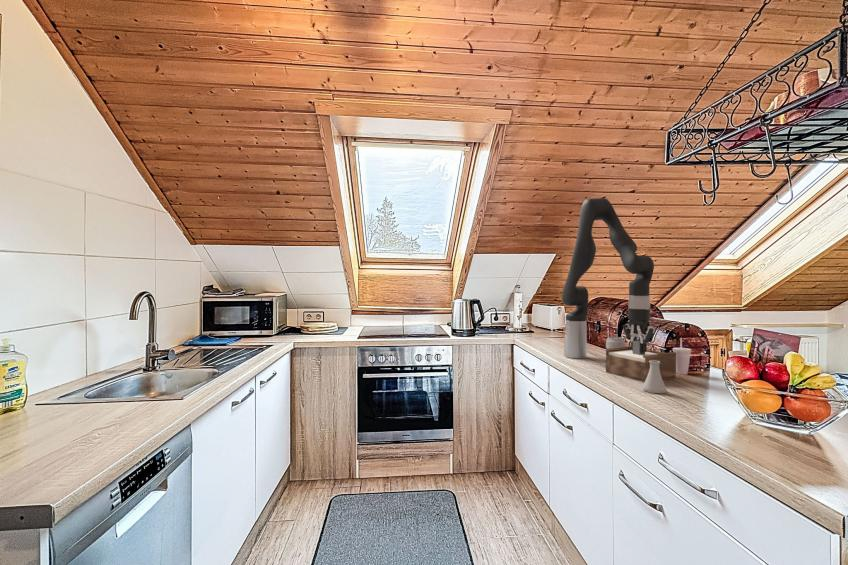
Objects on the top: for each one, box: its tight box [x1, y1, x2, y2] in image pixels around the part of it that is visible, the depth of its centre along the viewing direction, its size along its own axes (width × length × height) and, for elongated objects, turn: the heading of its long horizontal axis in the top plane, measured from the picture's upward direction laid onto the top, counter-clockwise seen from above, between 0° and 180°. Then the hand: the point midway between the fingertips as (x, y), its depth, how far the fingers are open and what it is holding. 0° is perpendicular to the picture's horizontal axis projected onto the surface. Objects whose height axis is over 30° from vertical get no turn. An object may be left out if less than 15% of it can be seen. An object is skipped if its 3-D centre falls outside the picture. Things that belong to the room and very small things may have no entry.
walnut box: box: [605, 345, 677, 383], centre depth 165 cm, size 18×16×10 cm
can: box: [605, 336, 626, 349], centre depth 183 cm, size 8×8×12 cm
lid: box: [608, 339, 656, 362], centre depth 164 cm, size 17×13×6 cm
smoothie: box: [672, 337, 692, 376], centre depth 167 cm, size 6×6×14 cm
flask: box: [641, 360, 668, 394], centre depth 142 cm, size 7×7×10 cm
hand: (638, 352), depth 164 cm, fingers closed on lid, 3 cm apart
